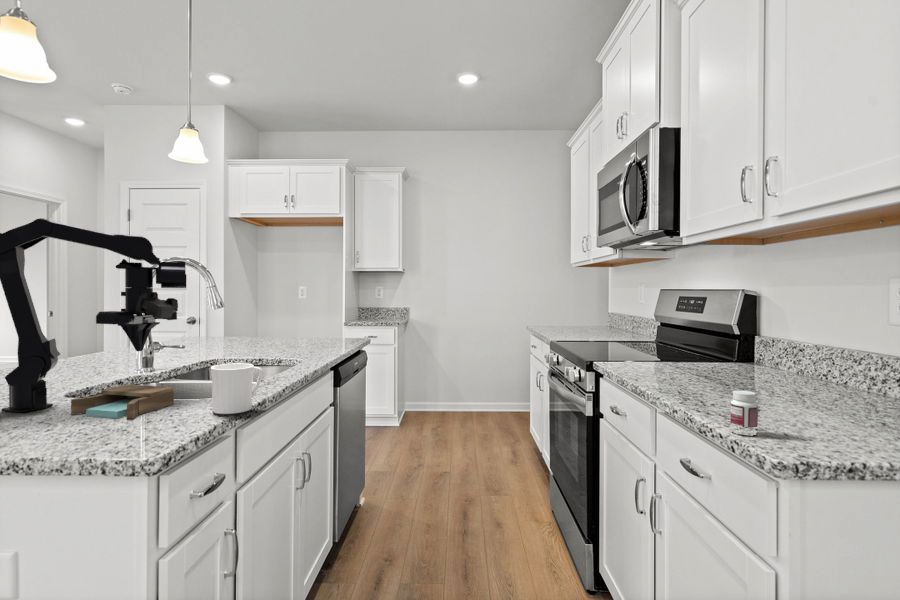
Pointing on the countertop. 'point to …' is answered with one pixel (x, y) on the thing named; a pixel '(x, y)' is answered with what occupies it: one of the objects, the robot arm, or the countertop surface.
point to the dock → (146, 402)
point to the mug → (233, 388)
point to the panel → (110, 409)
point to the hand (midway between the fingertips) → (139, 351)
